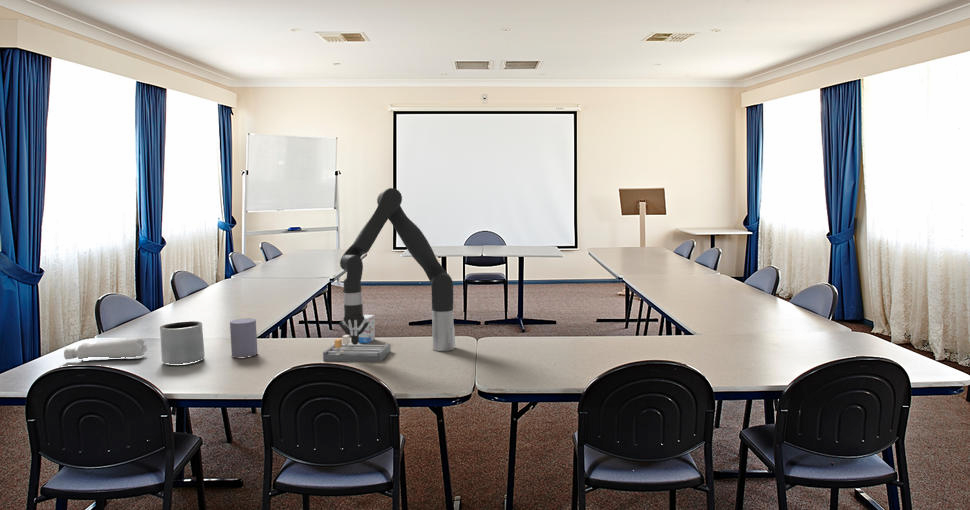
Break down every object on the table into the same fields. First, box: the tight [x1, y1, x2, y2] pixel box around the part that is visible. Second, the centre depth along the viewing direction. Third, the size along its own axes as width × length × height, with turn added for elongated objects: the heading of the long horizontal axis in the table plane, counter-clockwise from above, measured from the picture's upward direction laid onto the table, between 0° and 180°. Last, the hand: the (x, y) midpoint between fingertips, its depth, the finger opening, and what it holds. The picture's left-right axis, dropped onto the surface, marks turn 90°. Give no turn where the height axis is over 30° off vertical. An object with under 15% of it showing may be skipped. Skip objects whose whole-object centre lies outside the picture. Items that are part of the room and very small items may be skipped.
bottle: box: [63, 337, 148, 361], centre depth 269 cm, size 9×9×30 cm
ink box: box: [358, 314, 376, 344], centre depth 295 cm, size 9×5×12 cm, turn 168°
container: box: [229, 318, 259, 357], centre depth 273 cm, size 10×10×15 cm
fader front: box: [334, 338, 343, 351], centre depth 267 cm, size 2×3×5 cm, turn 173°
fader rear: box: [342, 334, 351, 347], centre depth 274 cm, size 2×3×5 cm, turn 173°
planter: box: [159, 320, 205, 364], centre depth 265 cm, size 16×16×16 cm
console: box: [322, 343, 392, 363], centre depth 270 cm, size 24×16×4 cm, turn 83°
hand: (355, 344), depth 266 cm, fingers closed
